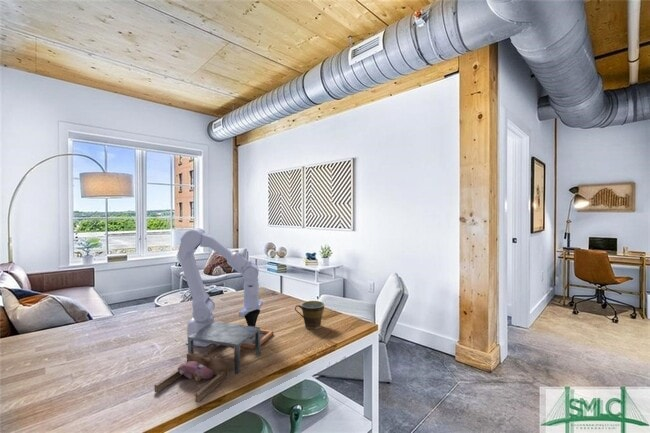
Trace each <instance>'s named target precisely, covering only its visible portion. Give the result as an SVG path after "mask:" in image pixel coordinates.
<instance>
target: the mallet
mask: <svg viewBox="0 0 650 433" xmlns="http://www.w3.org/2000/svg"><path fill="white" fill-rule="evenodd" d="M254 337H255V334H254V335H253V336H252V337H251V338H249V339H252V338H254ZM229 347H231V346H224V345H218V346H217V347H216V348H213V349H211V350H210V351H208V352H207V353H206V354H200V353H195V352H194V353H188V352H187V353H186V362H190V361H196V362H198V363H199V364H202V365H204V366H206V367H207V368H209V369H212V370H213V371H214V375H215V377H214V378H213V379H212V380H210V381H209V382H208V383H207V384H205V386H203V387H202V388H201V389H200V390H199V391H197V392H196V393H195V399H194V400H195V402H197V403H200V402H201V400H203V399H204V398H205V397H206V396H207V395H209V393H211V392H212V391H213V390H214V389H215V388H216V387H218V386H219V385H220V384H221V383H222V382H223V381H224V380H225V379H226V378H227V377H229V376H230V370H229V369H230V364H229V363H230V361H229V360H230V359H227V358H222V357H217V356H219V355H220V354H222V353H223V352H224V351H225V350H227V349H229ZM214 375H213V376H214ZM181 376H184V374H180V373H179V371H178V368H177V369H176V370H174V371H173V372H172V373H170V374H169V375H167V376H166V377H164V378H162V379H161V380H159V381H158V382H157V383H155V384H154V393H159V392H160V391H162V390H163V389H165V387H167V386H169V385H170V384H172V383H174V381H176V380H177V379H179V378H180V377H181Z"/></svg>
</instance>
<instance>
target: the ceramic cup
mask: <svg viewBox="0 0 650 433" xmlns="http://www.w3.org/2000/svg"><path fill="white" fill-rule="evenodd" d="M298 307H299V308H300V309H301V311H302V314H301V313H300V312H299V311H298V310H297V308H298ZM324 309H325V303H324V302H323V301H319V300H309V301H304V302H302V303H301V304H300V305H299V304H298V305H297V304H296V306H295V307H294V310H295V312H296V313H298V314H299V315H300V316H301V317H302V319H303V322H304V326H305V327H304V328H305V329H307V330H309V331H310V330H312V331H315V330H319V329H321V327H322V321H323V314H324Z"/></svg>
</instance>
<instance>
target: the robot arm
mask: <svg viewBox="0 0 650 433" xmlns="http://www.w3.org/2000/svg"><path fill="white" fill-rule="evenodd" d="M179 243H180V245H179V248H178V251H177V256H178V259H179V262H180V265H181V268H182V271H183V275H184V277H185V280H186V282H187V287H188V289H189V292H190V294H191V298H192V299H191V300H192V302H191V306H192V318H191V319H189V321H188V323H187V327H186V328H187V330H186V331H187V333H186V334H187V335H186V336H187V340H186V342H185V344H186V345H188V336H190V335H192V334H193V333H195V332H197V331H199V330H201V329H202V328H204V327H206V326H208V325H209V324H211V323H213V322H215V315H214V314H213V311H214V310H215V309H216V308H215V307H216V306H215V302H214V301H213V300H212V299H211V298H210V294H208V292H207V291H206V289H205V285H204V283H203V279H202V277H201V276H202V275H201V273H200V271H199V267H198V264H197V262H196V259H195V255H194V254H195V253H196V251H197V250H198V248H199V247H200V248H209V249H211V250H213V251H214V252H216V253H217V254H218V255H220V256H221V257H223V258H224V259H226V264H227V265H229V266H230V267H231V268H232V269H233V270H235V271H236V272H237V273H239V274H242V278H243V279H244V281H243V307H242V308H241V309H240V310H239V311H238V317H239V318H244V320H245V322H246V324H247V325H246V326H253V327H256V326H257V325H256V324H257V321H258V317H259V315H260V313H261V309H262V306H263V305H264V302H263V300H260V299H259V297H260V296H259V295H260V293H259V292H260V291H259V290H260V289H259V288H260V286H259V272H260V270H259V266H257V265H256V263H254V262H253V261H251V260H249V259H247V258H245V257H244V256H243V253H242V252H238V251H233V252H232V251H231V250H230V249H228V247H226V246H225V245H224V244H223V243H221V242H220V241H219V240H217V239H216V238H215V237H214V236H213V235H211V234H210V233H209V232H205V230H204V229H202V228H199V227H198V228H193V229H189V230H187V231H186V232H184V234H183V236H182V237H181V238H180V242H179ZM193 344H194V346H197V347H205V348H206V347H207V348H208V347H209V346H210V345H211V344H212V343H206V342H199V341H193ZM212 345H213V344H212Z"/></svg>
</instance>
